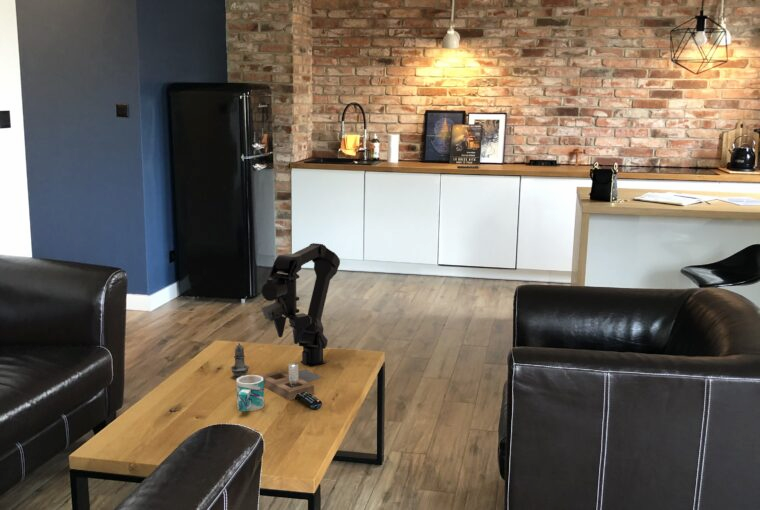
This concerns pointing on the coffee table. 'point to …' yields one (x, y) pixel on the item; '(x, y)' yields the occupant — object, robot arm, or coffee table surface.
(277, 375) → the socket block
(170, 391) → the coffee table surface
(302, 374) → the mat
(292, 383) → the pin
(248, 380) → the mug
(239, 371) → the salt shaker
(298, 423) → the coffee table surface
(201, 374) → the coffee table surface
